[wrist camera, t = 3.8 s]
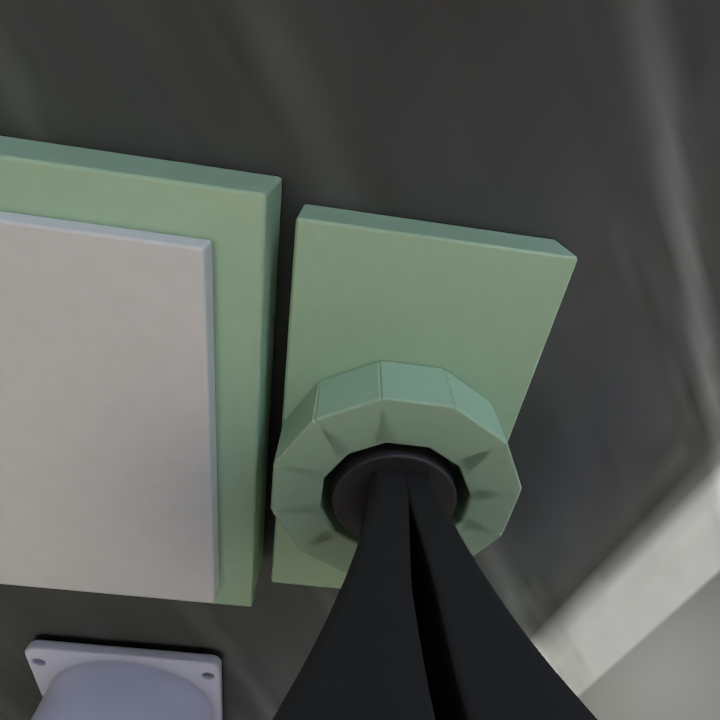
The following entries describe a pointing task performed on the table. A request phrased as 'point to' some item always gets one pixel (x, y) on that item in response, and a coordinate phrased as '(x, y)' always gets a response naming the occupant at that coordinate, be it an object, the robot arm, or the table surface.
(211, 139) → the table surface
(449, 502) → the button
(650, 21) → the table surface
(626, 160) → the table surface
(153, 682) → the robot arm
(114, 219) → the scale
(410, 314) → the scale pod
